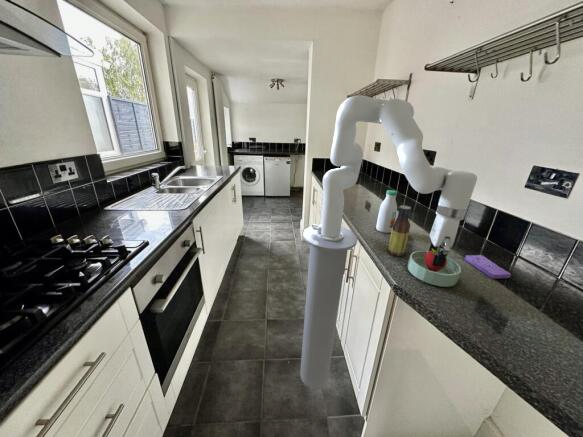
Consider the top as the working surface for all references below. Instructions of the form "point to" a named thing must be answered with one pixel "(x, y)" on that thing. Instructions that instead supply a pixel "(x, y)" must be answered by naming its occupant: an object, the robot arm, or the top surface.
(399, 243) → the sauce bottle
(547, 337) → the top surface
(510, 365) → the top surface
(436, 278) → the bowl
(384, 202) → the milk bottle
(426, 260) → the strawberry
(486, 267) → the sponge
